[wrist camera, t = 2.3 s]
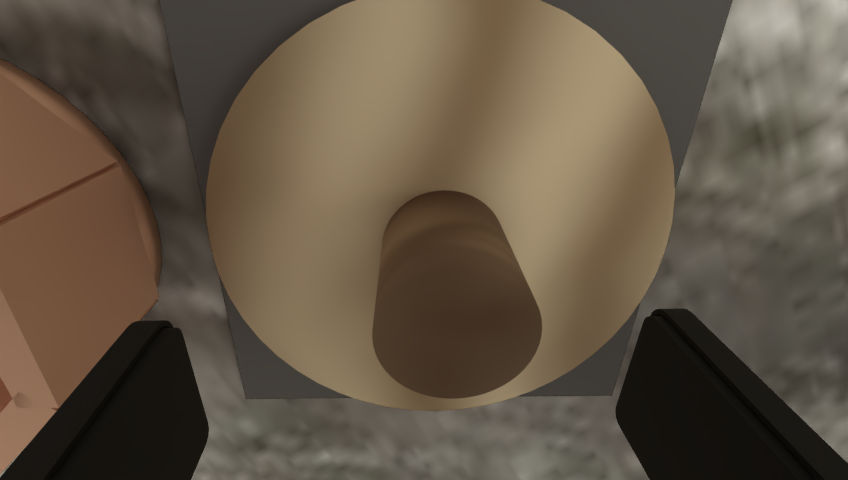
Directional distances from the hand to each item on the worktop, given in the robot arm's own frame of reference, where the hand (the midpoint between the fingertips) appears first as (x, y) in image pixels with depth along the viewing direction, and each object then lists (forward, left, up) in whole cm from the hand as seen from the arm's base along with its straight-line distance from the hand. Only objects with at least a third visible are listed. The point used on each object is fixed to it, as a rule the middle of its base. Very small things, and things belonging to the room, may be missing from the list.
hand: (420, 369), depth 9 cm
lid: (-1, 0, -7) cm, 7 cm away
